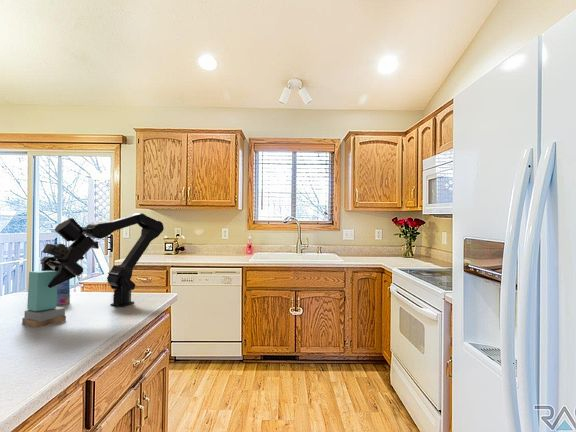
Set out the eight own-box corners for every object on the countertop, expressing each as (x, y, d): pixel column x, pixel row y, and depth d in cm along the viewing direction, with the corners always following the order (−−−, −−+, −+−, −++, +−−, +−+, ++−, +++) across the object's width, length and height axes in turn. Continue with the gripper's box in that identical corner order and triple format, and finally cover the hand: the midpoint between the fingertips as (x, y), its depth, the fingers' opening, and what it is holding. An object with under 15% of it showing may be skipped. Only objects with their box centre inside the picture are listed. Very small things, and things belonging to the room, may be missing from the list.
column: (47, 306, 117) (48, 270, 118) (56, 307, 114) (57, 271, 115) (27, 309, 112) (29, 271, 113) (36, 311, 109) (37, 272, 110)
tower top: (48, 312, 118) (49, 305, 118) (64, 315, 115) (65, 307, 115) (24, 318, 111) (24, 310, 111) (40, 321, 108) (40, 313, 108)
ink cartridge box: (45, 301, 139) (46, 267, 139) (60, 299, 143) (61, 265, 143) (54, 305, 133) (55, 269, 133) (70, 303, 138) (71, 268, 138)
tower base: (52, 318, 119) (52, 311, 119) (65, 322, 115) (65, 315, 115) (22, 325, 111) (22, 317, 111) (35, 330, 107) (35, 322, 107)
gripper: (47, 234, 122) (9, 268, 112) (74, 236, 112) (35, 273, 103) (70, 253, 129) (36, 287, 119) (97, 257, 119) (63, 294, 109)
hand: (42, 285), depth 112 cm, fingers open, 9 cm apart
